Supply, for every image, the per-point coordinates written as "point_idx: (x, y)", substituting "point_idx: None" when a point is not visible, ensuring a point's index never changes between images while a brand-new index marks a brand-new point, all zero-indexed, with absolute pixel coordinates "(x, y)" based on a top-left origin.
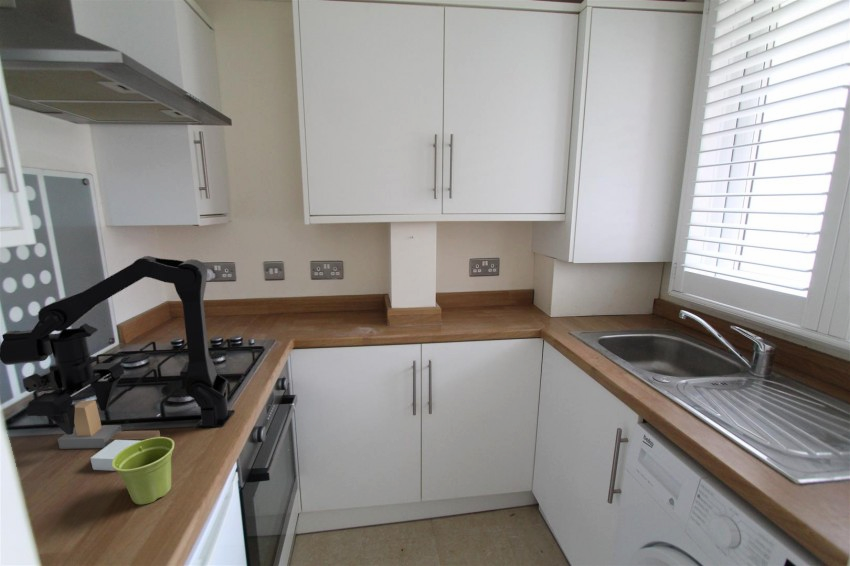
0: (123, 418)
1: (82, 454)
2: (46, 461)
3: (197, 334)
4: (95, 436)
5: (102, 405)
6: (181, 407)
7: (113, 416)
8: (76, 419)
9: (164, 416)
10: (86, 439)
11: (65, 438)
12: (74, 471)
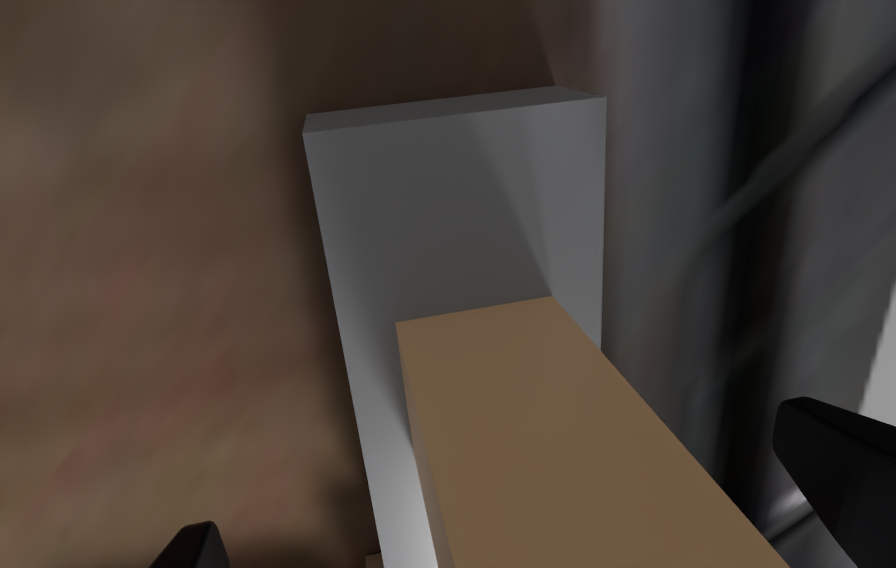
0: (800, 278)
1: (268, 418)
2: (88, 192)
3: None
4: (409, 495)
5: (840, 487)
6: None
7: (859, 149)
8: (439, 522)
9: None
10: (363, 443)
11: (335, 223)
12: (68, 555)
